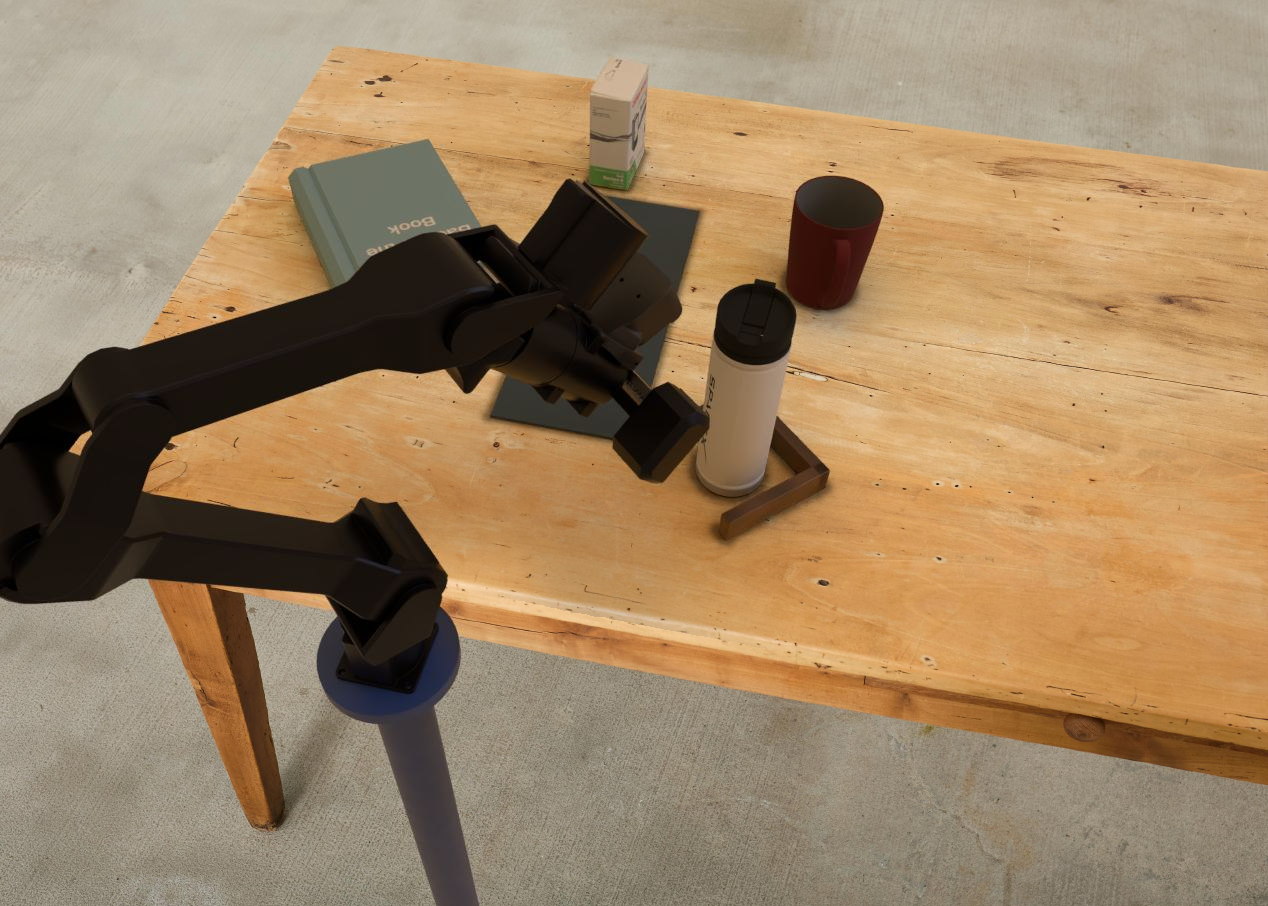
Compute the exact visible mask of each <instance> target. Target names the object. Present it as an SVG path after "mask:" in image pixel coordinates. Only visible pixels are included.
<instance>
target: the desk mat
mask: <svg viewBox="0 0 1268 906" xmlns="http://www.w3.org/2000/svg"><path fill="white" fill-rule="evenodd" d="M605 196H606V197H607V198H608V199H609V200H611V201H612V202H613V203H614V204H615V205H617V206H618V207H619V208H620V209H621V210H623V211H624V212H625V213H626V214H627V215H629V216H630V217H631V218H632V219H633V220H634V221H635V222H636V223H638V224H639V225H640V226H641V227H642V228H643V229H644V230H645V231H646V232H647V233H648V235H649V236H648V238H647V239H646V240H645V241H644V243H643V244H642V245H641V246H640V248H639V249H638V250H637V252H636V253H642V254H644V255H645V256H646V257H647V258H648V259H649V260H650V261H651V262H652V263H653V264H655V265H656V266H657V267H658V268H659V269H660V270H661V271H662V272H663V273H664V274H665V275H666V276H667V277H668V278H669V279H670V280H671V282H672V284H673V287H674V289H675V291H676V294H677V295H678V293H679V289H680V285H681V282H682V278H683V273H684V270H685V266H686V263H687V259H688V256H689V252H690V249H691V245H692V242H693V241H692V240H693V238H694V234H695V230H696V227H697V223H698V219H699V216H700V210H696V209H691V208H684V207H679V206H678V207H677V206H673V205H667V204H659V203H654V202H653V203H652V202H648V201H647V202H646V201H642V200H641V201H640V200H634V199H628V198H623V197H616V196H615V197H614V196H611V195H605ZM669 325H670V324H668V325H667V326H666V327H665V328H663V329H662V330H661V331H660V332H659V333H657V334H656V335H655V336H654V337H652V338H651V339H650V340H649V341H648V342H646V343H645V344H643V345H642V346H639V347H637V348H636V350H637V351H638V352H639V353H640V354H641V355H642V356H643V357H644V358H643V360H642V361H641V362H640V363H639V365H638V366H637V367H636V368H635V369H634V371H635V372H636V373H637V375H638V376H639V377H640V378H641V379H642V380H643V381H644V382H645V383H646V384H647V385H648V386H649V387H650V388H651V389H652V387H653V382H654V380H655V375H656V372H657V368H658V364H659V361H660V358H661V354H662V350H663V346H664V343H665V339H666V336H667V331H668V328H669ZM626 383H627V382H625V383H624V384H625V385H626V386H627V387H628V388H629V389H630V390H631V391H632V390H633V389H631V388H630V387H629V386H630V385H627V384H626ZM632 392H633V393H634V394H635V395H636V392H634V391H632ZM636 396H637V397H638V398H639V396H640V395H639V396H638V395H636ZM639 399H640V398H639ZM642 400H643V399H640V401H641V402H642ZM489 416H490V417H489V418H491V419H497V420H498V419H499V420H503V421H508V422H509V421H510V422H513V423H514V422H515V423H521V424H526V425H531V426H535V427H542V428H547V429H553V430H557V431H563V432H568V433H574V434H579V435H585V436H590V437H595V438H602V439H607V440H612V441H613V436H614V435H615V434H616V432H617V431H618V430H619V429H620V427H621V426H622V425H623V424H624V423H625V421H626V420H627V419H628V418H629V417H630V416H629V415H628V414H627V413H626V412H625V411H624V410H623V409H622V407H621V406H620V405H619V404H618V403H617V402H616V401H615V400H614V399H613V398H612V399H611V400H610V401H608V402H607V403H605V404H602V405H600V404H599V405H598V406H597V407H596V408H595V410H594V411H593V412H592V413H591V414H590V416H589V417H588V418H587V417H584V416H581V415H579V414H578V412H577V411H576V410H575V409H574V408H573V407H572V406H571V405H570V403H569V402H568V401H567V400H566V399H565V398H562V397H560V398H559V399H558V400H557V402H556V403H555V404H554V405H553V404H550V403H548V402H545V401H544V400H543V398H542V397H541V396H540V395H539V394H538V393H537V392H536V390H535V389H534V388H533V387H532V386H531V385H530V384H528V383H525V382H523V381H520V380H518V379H515V378H513V377H510V376H508V375H505V378H504V379H503V383H502V385H501V387H500V390H499V393H498V395H497V397H496V400H495V402H494V405H493V408H492V410H491V412H490V414H489Z"/></svg>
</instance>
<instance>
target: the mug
mask: <svg viewBox="0 0 1268 906" xmlns="http://www.w3.org/2000/svg"><path fill="white" fill-rule="evenodd" d="M793 198H794V199H793V205H792V212H791V220H790V228H789V229H790V230H789V240H788V249H787V250H788V251H787V262H786V276H785V287H786V290H787V292H788V293H789V295H790V297H792V298H793V299H794V300H795V301H797V302H798V303H800V304H802V305H804V306H805V307H806V306H807V307H809V308H812V309H818V310H833V309H838V308H841V307H844V306H845V305H847V304H848V303H849V302H850V301H852V299H853V297H854V295H855V293H856V290H857V288H858V286H859V282H860V280H861V277H862V274H863V273H864V269H865V266H866V264H867V262H868V259H869V256H870V255H871V254H870V253H871V250H872V247H873V246H874V242H875V240H876V237H877V235H878V231H879V229H880V225H881V222H882V218H883V215H884V210H885V205H884V200H883V199H882V197H881V195H880V194H879V193H878V192H877V191H876V190H875V189H874V188H872V186H869V185H868V184H866V183H864V182H863V181H860V180H858V179H855V178H851V177H847V176H843V175H822V176H821V175H820V176H815V177H813V178H810V179H808V180H805V181H804V182H803V183H801V184H800V185H799V186H798V187H797V189H796V191H795V193H794V197H793Z"/></svg>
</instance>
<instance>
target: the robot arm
mask: <svg viewBox="0 0 1268 906" xmlns="http://www.w3.org/2000/svg"><path fill="white" fill-rule="evenodd" d="M606 196H607V195H605V194H603V193H602V192H601V191H600V190H598V189H597V188H595V187H594V185H591V184H589V183H588V182H587V181H586V180H584V181H580V180H578V179H575V180H573V179H572V178H570V177H569V178H566V179H565V180H564V182H562V184H561V185H560V187H559V188H558V189H557V191H556V192H555V194H554V195H553V197H552V199H551V200H550V203H549V204H548V206H547V208H546V209H545V210H544V212H543V213H542V214H541V215H540V217H539V218H538V219H537V221H536V222H535V223H534V224H533V226H532V227H531V228H530V230H529V231H528V232H527V234H526V235H525V236H524V238H523V239H522V241H521V242H520V243H519V242H518V241H516V240H514V239H513V238H511V237H509V236H508V235H507V234H506V233H505V232H504V231H503V230H502V228H501V227H500V226H499V225H498V224H495V223H494V224H489V225H483V226H481V227H479V228H474V229H469V230H468V229H467V230H464V231H460V232H455V233H450V234H445V233H441V232H429V233H423V234H420V235H417V236H414V237H412V238H410V239H408V240H405V241H403V242H401V243H399V244H397V245H394V246H392V247H390V248H388V249H385V250H383V251H381V252H379V253H376V254H374V255H372V256H371V257H369V258H368V259H367V260H366V261H365V262H364V263H363V264H362V266H361V267H360V268H359V269H358V270H357V271H356V272H355V273H354V274H353V275H352V277H351V278H350V279H349V280H348V281H347V282H345V283H343V284H341V285H339V286H336V287H334V288H330V289H327V290H324V291H321V292H317V293H314V294H311V295H307V296H304V297H300V298H297V299H294V300H290V301H287V302H283V303H280V304H278V305H273V306H271V307H267V308H263V309H260V310H257V311H253V312H250V313H247V314H244V315H241V316H240V315H239V316H236V317H234V318H230V319H227V320H224V321H223V320H222V321H220V322H217V323H213V324H210V325H207V326H203V327H199V328H197V329H193V330H189V331H187V332H183V333H180V334H177V335H173V336H169V337H167V338H163V339H159V340H156V341H153V342H149V343H147V344H144V345H139V346H136V347H133V348H127V347H126V348H125V347H120V346H107V347H102V348H101V347H100V348H99V349H96V350H94V351H92V352H90V353H88V354H87V355H85V356H84V358H82V359H81V360H80V361H79V362H78V363H77V364H76V365H75V366H74V368H73V369H72V371H71V372H70V373H69V375H68V376H67V377H66V379H65V380H64V381H63V383H62V384H61V385H60V386H59V387H58V389H56V390H54V391H52V392H50V393H48V394H47V395H45V396H43V397H41V398H39V399H37V400H36V401H34V402H33V401H32V402H31V403H30V404H28V405H26V406H24V407H22V408H20V409H19V410H18V411H17V412H16V413H15V414H14V415H13V417H12V418H11V419H10V421H9V422H8V423H7V424H6V426H5V427H4V428H3V430H2V431H1V432H0V599H1V600H4V601H6V602H8V603H14V604H18V605H43V604H59V603H60V604H61V603H77V602H90V601H91V602H92V601H95V600H97V599H99V598H101V597H103V596H104V595H107V594H108V593H111V592H112V591H114V590H116V589H117V588H119V587H122V586H123V585H125V584H126V583H128V582H130V581H132V580H151V581H160V582H161V581H163V582H174V583H185V584H197V585H206V586H208V585H210V586H219V587H232V588H242V589H253V590H263V591H264V590H265V591H276V592H289V593H299V594H311V595H320V596H321V595H323V596H324V597H325V599H326V600H327V601H328V603H329V605H330V606H331V608H332V610H333V611H334V613H335V614H336V617H337V616H338V618H339V621H340V624H341V628H342V631H343V634H344V635H343V638H342V642H343V645H344V648H345V651H344V653H343V656H342V658H341V660H340V662H339V665H338V667H337V669H336V672H335V673H336V676H337V678H338V679H340V680H343V681H348V682H353V683H357V684H362V685H367V686H371V687H376V688H381V689H386V690H390V691H395V692H400V693H404V694H412V693H414V692H415V690H416V688H417V685H418V683H419V680H420V677H421V675H422V672H423V670H424V667H425V664H426V662H427V659H428V656H429V654H430V651H431V648H432V646H433V643H434V641H435V638H436V635H437V633H438V630H439V626H438V623H437V622H435V620H436V617H437V614H438V611H439V608H440V607H441V604H442V601H443V594H444V592H445V590H446V588H447V586H448V582H449V579H448V578H449V574H448V573H447V571H446V570H445V568H444V567H443V566H442V564H441V563H440V561H439V559H438V558H437V556H436V555H435V554H434V552H433V551H432V549H431V548H430V546H429V545H428V544H427V541H425V539H424V538H423V536H422V535H421V533H420V532H419V531H418V530H417V529H418V528H416V526H415V525H414V523H413V522H412V520H411V519H410V518H409V516H408V515H407V513H406V512H405V511H404V510H403V508H402V506H401V505H400V504H399V502H398V501H392V502H378V501H375V500H373V499H370V498H368V497H360V498H359V499H358V501H357V502H356V505H355V506H354V507H353V509H352V510H350V511H349V512H347V513H346V514H344V515H342V516H341V517H339V518H338V519H336V520H335V521H333V522H330V521H329V522H328V521H322V520H315V519H309V518H305V517H304V518H303V517H297V516H290V515H285V514H280V513H273V512H267V511H261V510H255V509H248V508H242V507H234V506H229V505H225V504H224V505H223V504H217V503H211V502H204V501H200V500H199V501H198V500H194V499H193V500H192V499H186V498H180V497H173V496H169V495H168V496H167V495H161V494H156V493H155V494H154V493H150V492H147V491H144V490H143V489H144V487H145V484H146V480H147V478H148V475H149V472H150V469H151V466H152V464H153V463H154V462H155V461H156V460H157V458H158V457H159V455H160V454H161V453H162V452H163V450H164V449H165V448H166V447H167V446H168V444H169V443H170V441H171V440H172V438H174V437H177V436H180V435H183V434H186V433H188V432H192V431H195V430H198V429H200V428H203V427H206V426H209V425H212V424H215V423H218V422H221V421H224V420H227V419H230V418H233V417H235V416H238V415H242V414H244V413H247V412H250V411H253V410H256V409H259V408H261V407H264V406H265V407H266V406H267V405H270V404H274V403H275V402H276V403H277V402H279V401H282V400H285V399H289V398H291V397H294V396H296V395H300V394H303V393H306V392H308V391H311V390H314V389H317V388H321V387H323V386H326V385H329V384H332V383H335V382H337V381H342V380H344V379H347V378H350V377H352V376H356V375H358V374H362V373H368V372H372V371H376V370H385V371H391V372H392V371H393V372H399V373H407V374H414V375H424V374H429V373H435V372H439V371H443V370H444V371H445V372H446V373H447V375H449V377H450V379H452V380H453V382H454V383H455V384H456V386H458V388H459V389H460V391H462V393H463V394H465V395H470V394H471V393H473V391H474V390H475V389H476V388H477V386H478V385H479V384H480V383H481V382H482V380H483V379H484V378H485V376H486V375H487V373H488V372H489V371H490V370H492V371H495V372H497V373H500V374H502V375H505V376H506V375H508V376H510V377H513V378H515V379H518V380H520V381H523V382H525V383H528V384H530V385H531V386H532V387H533V388H534V389H535V390H536V392H537V393H538V394H539V395H540V396H541V397H542V398H543V400H544V401H545V402H548V403H550V404H553V405H554V404H555V403H556V402H557V400H558V399H559V398H560V397H562V398H565V399H566V400H567V401H568V402H569V403H570V405H571V406H572V407H573V408H574V409H575V410H576V411H577V412H578V414H579V415H581V416H584V417H587V418H588V417H589V416H590V414H591V413H592V412H593V411H594V410H595V408H596V407H597V406H598V405H599V404H600V405H602V404H605V403H607V402H608V401H610V400H611V399H612V398H613V399H614V400H615V401H616V402H617V403H618V404H619V405H620V406H621V407H622V409H623V410H624V411H625V412H626V413H627V414H628V415H629V416H630V417H629V418H628V419H627V420H626V421H625V423H624V424H623V425H622V426H621V427H620V429H619V430H618V431H617V432H616V434H615V435H614V436H613V440H612V445H611V446H612V450H613V451H614V452H615V453H616V455H617V456H618V457H619V458H620V459H621V460H622V462H624V463H625V465H626V466H627V467H628V468H629V469H630V470H631V471H632V473H633V474H634V475H635V476H636V477H637V478H638V479H639V480H641V481H644V482H647V483H650V484H655V485H656V484H664V483H665V481H666V480H667V479H668V478H669V477H670V476H671V474H672V473H673V472H674V471H675V470H676V469H677V467H678V466H679V465H680V464H681V463H682V461H684V459H685V458H686V457H687V455H689V453H690V452H691V451H692V450H693V449H694V447H695V446H696V445H697V444H699V440H700V439H701V438H702V437H703V436H704V434H705V433H706V432H707V431H708V430H709V429H710V417H709V416H708V415H707V414H706V413H705V412H704V411H703V410H702V409H701V408H700V407H699V406H700V405H699V404H698V403H697V402H695V401H694V399H693V398H691V397H690V395H688V394H687V393H686V392H685V391H684V390H683V389H682V388H681V387H678V386H677V385H676V384H673V383H672V382H670V381H665V382H664V383H662V384H660V385H657V386H655V387H653V388H652V387H651V388H650V387H649V386H648V385H647V384H646V383H645V382H644V381H643V380H642V379H641V378H640V377H639V376H638V375H637V373H636V372H635V371H634V369H635V368H636V367H637V366H638V365H639V363H640V362H641V361H642V360H643V358H644V357H643V356H642V355H641V354H640V353H639V352H638V351H637V350H636V348H637V347H639V346H642V345H643V344H645V343H646V342H648V341H649V340H650V339H651V338H652V337H654V336H655V335H656V334H657V333H659V332H660V331H661V330H662V329H663V328H665V327H666V326H667V325H668V324H669V325H670V324H673V323H675V322H676V321H677V320H678V319H679V318H681V316H682V314H683V305H682V303H681V301H680V299H679V296H678V293H677V294H676V291H675V289H674V287H673V284H672V282H671V280H670V279H669V278H668V277H667V276H666V275H665V274H664V273H663V272H662V271H661V270H660V269H659V268H658V267H657V266H656V265H655V264H653V263H652V262H651V261H650V260H649V259H648V258H647V257H646V256H645V255H644V254H642V253H636V252H637V250H638V249H639V248H640V246H641V245H642V244H643V243H644V241H645V240H646V239H647V238H648V236H649V235H648V233H647V232H646V231H645V230H644V229H643V228H642V227H641V226H640V225H639V224H638V223H636V222H635V221H634V220H633V219H632V218H631V217H630V216H629V215H627V214H626V213H625V212H624V211H623V210H621V209H620V208H619V207H618V206H617V205H615V204H614V203H613V202H612V201H611V200H609V199H608V198H607V197H606ZM478 261H480V262H481V263H482V264H483V265H484V266H485V267H486V268H487V269H488V270H489V271H490V273H491V274H492V275H493V276H494V277H495V278H496V279H497V280H498V283H496V282H495V281H494V280H493V279H492V278H491V277H490V276H489V274H488V273H487V272H486V271H485V270H484V269H483V268H482V267H481V266H480V265H479V264H478ZM669 325H668V326H669ZM625 382H627V383H626V384H627V385H630V386H629V387H630V388H631V389H633V390H632V391H634V392H636V395H638V396H639V395H640V396H639V398H640V399H643V400H642V402H641V401H640V399H639V398H638V397H637V396H636V395H635V394H634V393H633V392H632V391H631V390H630V389H629V388H628V387H627V386H626V385H625V384H624V383H625ZM88 432H91V434H90V436H89V437H88V439H87V440H86V441H85V443H84V445H83V446H82V449H81V451H80V453H79V454H77V453H76V452H75V453H74V452H72V451H70V450H71V449H72V448H73V446H74V445H75V444H76V442H78V440H79V439H80V437H81V436H82V435H84V434H86V433H88ZM433 626H434V627H435V628H434V629H433ZM342 671H344V672H345V673H344V674H343V675H340V673H341V672H342ZM407 686H412V688H411V689H407Z"/></svg>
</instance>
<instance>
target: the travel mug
mask: <svg viewBox="0 0 1268 906" xmlns="http://www.w3.org/2000/svg"><path fill="white" fill-rule="evenodd" d="M776 286H777V282H774V281H770V280H766V279H760V278H755V279H754V280H753V283H743V284H740V285H737V286H735V287H733V288H730V289H729V290H728V291H727V292H726V293H724V294H723V296H722V297H721V298H720V299H719V302H718V304H717V309H716V315H715V322H714V329H713V332H712V341H711V348H710V354H709V362H708V370H707V377H706V385H705V391H704V392H705V393H704V399H703V404H704V406H703V411H704V412H705V413H706V414H707V415H708V416H709V417H710V429H709V430H708V431H707V432H706V433H705V434H704V436H703V437H702V438H701V439H700V440H699V441H698V443H697V444H698V445H697V451H696V460H695V473H696V477H697V479H698V480H699V482H700V484H702V485H703V486H704V487H705V489H707V490H708V491H710V492H712V493H713V494H716V495H719V496H723V497H728V498H733V497H734V498H736V497H743V496H745V495H749V494H750V493H753V492H754V491H756V490H757V489H758V488H759V487H760V485H761V484H762V482H763V479H764V477H765V472H766V467H767V463H768V458H769V453H770V449H771V445H770V444H771V440H772V435H773V430H774V426H775V421H776V416H778V411H779V407H780V402H781V396H782V392H783V387H784V383H785V378H786V373H787V369H788V364H789V360H790V355H791V350H792V344H793V337H794V332H795V328H796V323H797V309H796V307H795V304H794V303H793V301H792V299H791V298H790V297H789V296H788V295H787V294H786V293H785V292H784V291H782V290H780V289H778V288H776Z"/></svg>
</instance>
